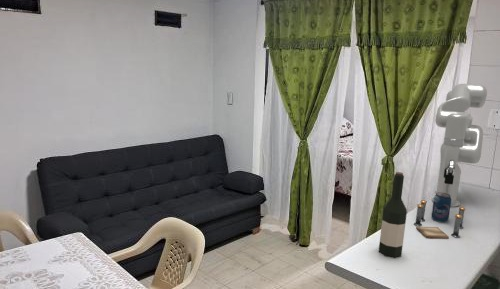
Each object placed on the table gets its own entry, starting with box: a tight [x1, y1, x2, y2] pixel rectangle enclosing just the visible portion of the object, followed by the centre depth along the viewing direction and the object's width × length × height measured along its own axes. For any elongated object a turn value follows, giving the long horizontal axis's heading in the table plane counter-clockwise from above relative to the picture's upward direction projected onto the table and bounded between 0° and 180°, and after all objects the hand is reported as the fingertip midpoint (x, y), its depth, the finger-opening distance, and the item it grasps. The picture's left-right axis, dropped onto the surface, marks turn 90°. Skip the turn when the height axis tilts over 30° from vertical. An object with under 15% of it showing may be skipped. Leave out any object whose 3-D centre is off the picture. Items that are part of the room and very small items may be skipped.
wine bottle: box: [378, 171, 408, 259], centre depth 135 cm, size 8×8×30 cm
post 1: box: [413, 203, 423, 227], centre depth 163 cm, size 3×3×9 cm
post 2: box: [420, 199, 428, 223], centre depth 168 cm, size 3×3×9 cm
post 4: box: [458, 206, 466, 230], centre depth 162 cm, size 3×3×9 cm
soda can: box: [431, 193, 451, 223], centre depth 169 cm, size 7×7×12 cm
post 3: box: [450, 213, 462, 239], centre depth 153 cm, size 3×3×9 cm
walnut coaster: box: [415, 226, 450, 240], centre depth 155 cm, size 9×9×1 cm
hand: (447, 180), depth 166 cm, fingers open, 9 cm apart
